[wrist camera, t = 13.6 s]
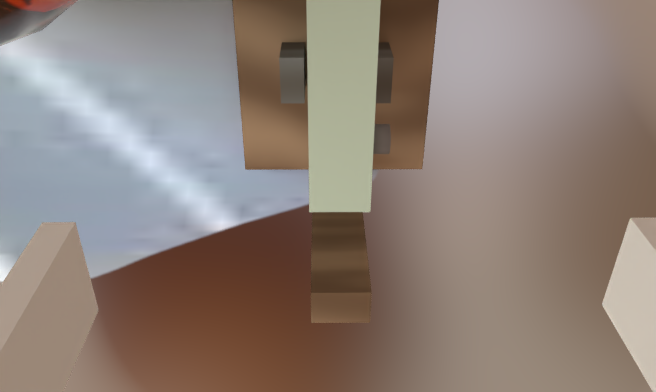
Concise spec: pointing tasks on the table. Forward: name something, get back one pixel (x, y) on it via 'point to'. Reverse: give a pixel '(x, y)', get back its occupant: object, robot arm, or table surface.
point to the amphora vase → (28, 16)
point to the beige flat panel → (343, 103)
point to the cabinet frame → (292, 125)
